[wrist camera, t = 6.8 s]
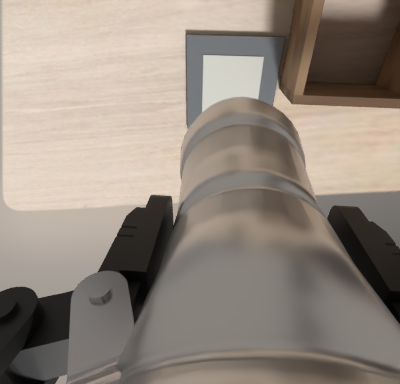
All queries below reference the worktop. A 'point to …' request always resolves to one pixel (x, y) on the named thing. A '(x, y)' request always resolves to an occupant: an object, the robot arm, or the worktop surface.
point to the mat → (230, 69)
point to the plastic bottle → (256, 271)
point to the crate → (333, 92)
